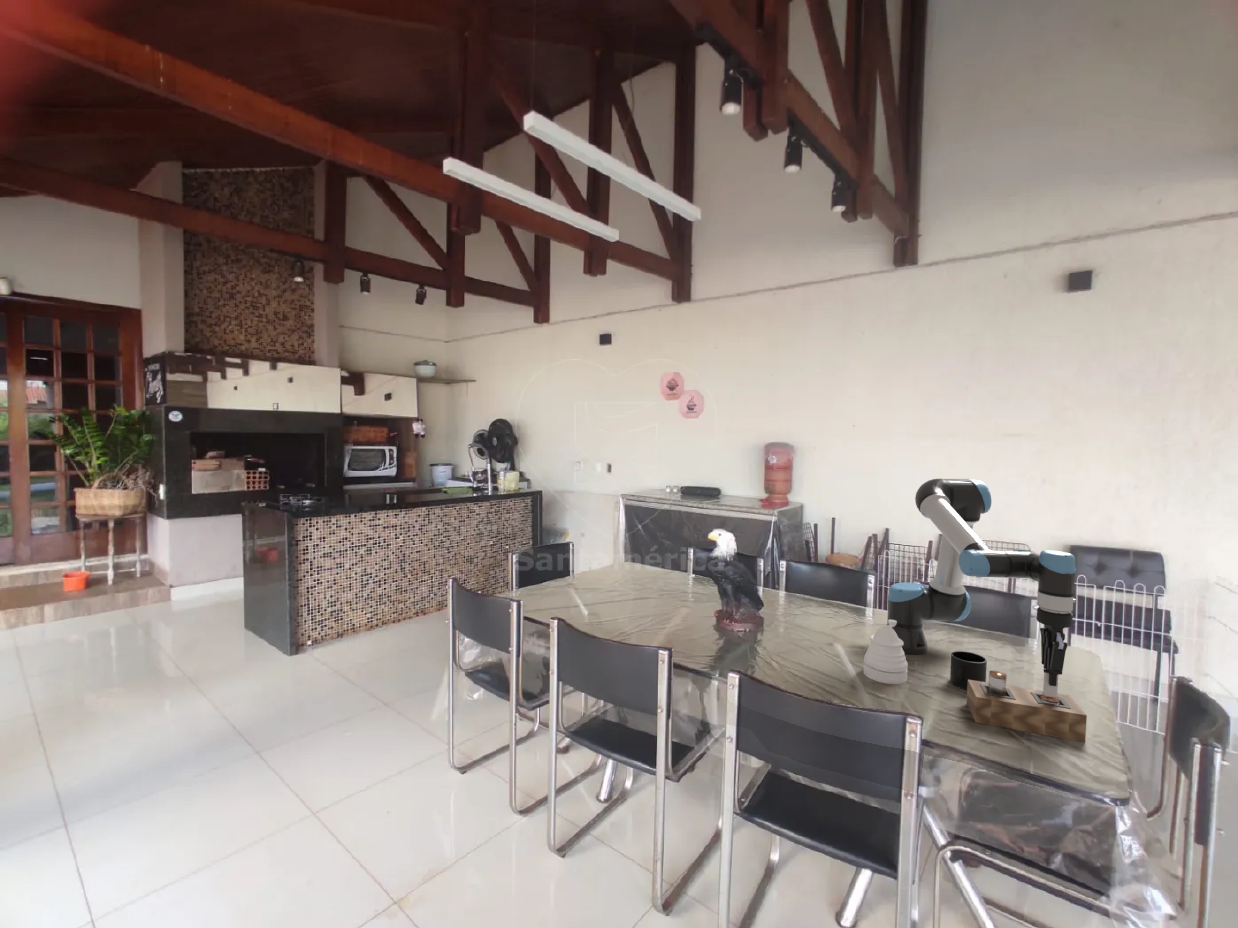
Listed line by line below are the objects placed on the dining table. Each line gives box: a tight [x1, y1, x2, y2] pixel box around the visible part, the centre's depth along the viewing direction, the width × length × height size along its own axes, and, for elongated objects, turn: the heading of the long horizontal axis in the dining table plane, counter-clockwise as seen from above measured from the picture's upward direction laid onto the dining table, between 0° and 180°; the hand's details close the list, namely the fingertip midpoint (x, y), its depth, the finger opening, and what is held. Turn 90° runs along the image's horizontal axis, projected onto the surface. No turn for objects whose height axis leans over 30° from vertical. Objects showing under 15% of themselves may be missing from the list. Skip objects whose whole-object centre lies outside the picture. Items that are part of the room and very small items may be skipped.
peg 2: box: [1041, 694, 1060, 705], centre depth 148 cm, size 4×4×7 cm
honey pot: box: [863, 619, 909, 685], centre depth 179 cm, size 13×13×18 cm
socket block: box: [966, 680, 1088, 743], centre depth 150 cm, size 24×12×7 cm, turn 67°
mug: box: [949, 650, 988, 691], centre depth 172 cm, size 9×12×9 cm
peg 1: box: [988, 670, 1008, 696], centre depth 152 cm, size 4×4×7 cm
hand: (1050, 695), depth 148 cm, fingers closed
